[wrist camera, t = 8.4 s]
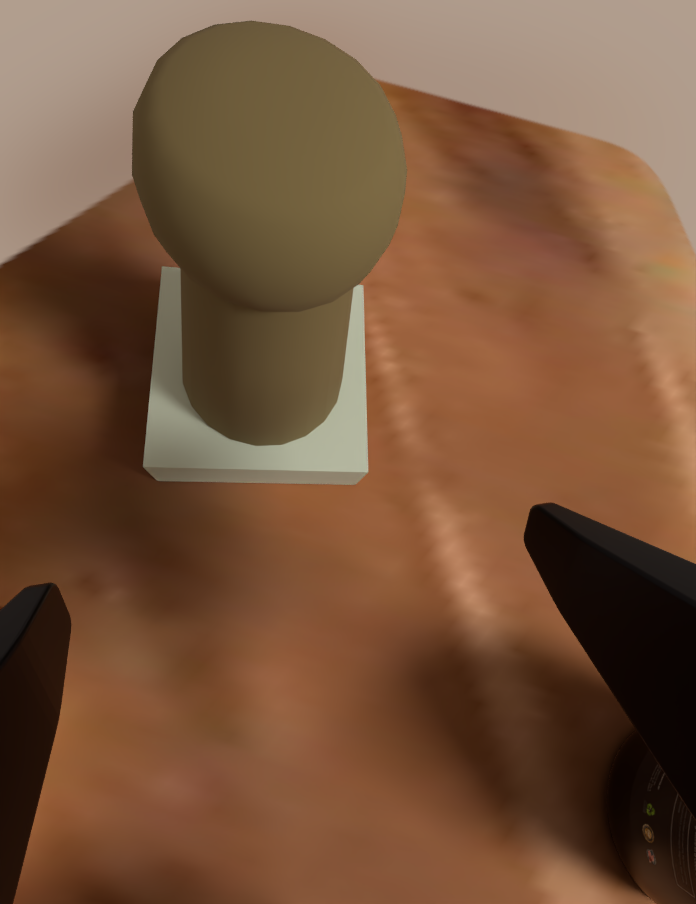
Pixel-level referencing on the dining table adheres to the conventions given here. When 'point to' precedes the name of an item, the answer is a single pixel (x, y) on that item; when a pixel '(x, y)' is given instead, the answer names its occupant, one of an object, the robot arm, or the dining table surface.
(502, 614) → the dining table surface
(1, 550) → the dining table surface
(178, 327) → the base brick
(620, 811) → the supplement bottle
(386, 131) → the cork
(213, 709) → the dining table surface
